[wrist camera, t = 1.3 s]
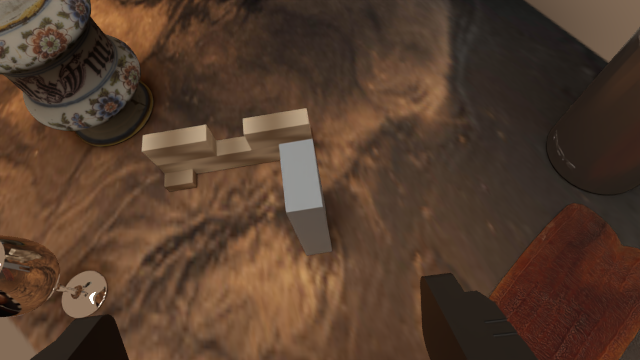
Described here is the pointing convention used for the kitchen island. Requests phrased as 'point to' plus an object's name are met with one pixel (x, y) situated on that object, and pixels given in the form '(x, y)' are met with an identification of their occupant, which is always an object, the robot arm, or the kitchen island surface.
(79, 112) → the apothecary jar
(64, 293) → the wineglass
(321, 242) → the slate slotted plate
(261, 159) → the birch slotted board
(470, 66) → the kitchen island surface
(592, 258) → the wooden tablet
